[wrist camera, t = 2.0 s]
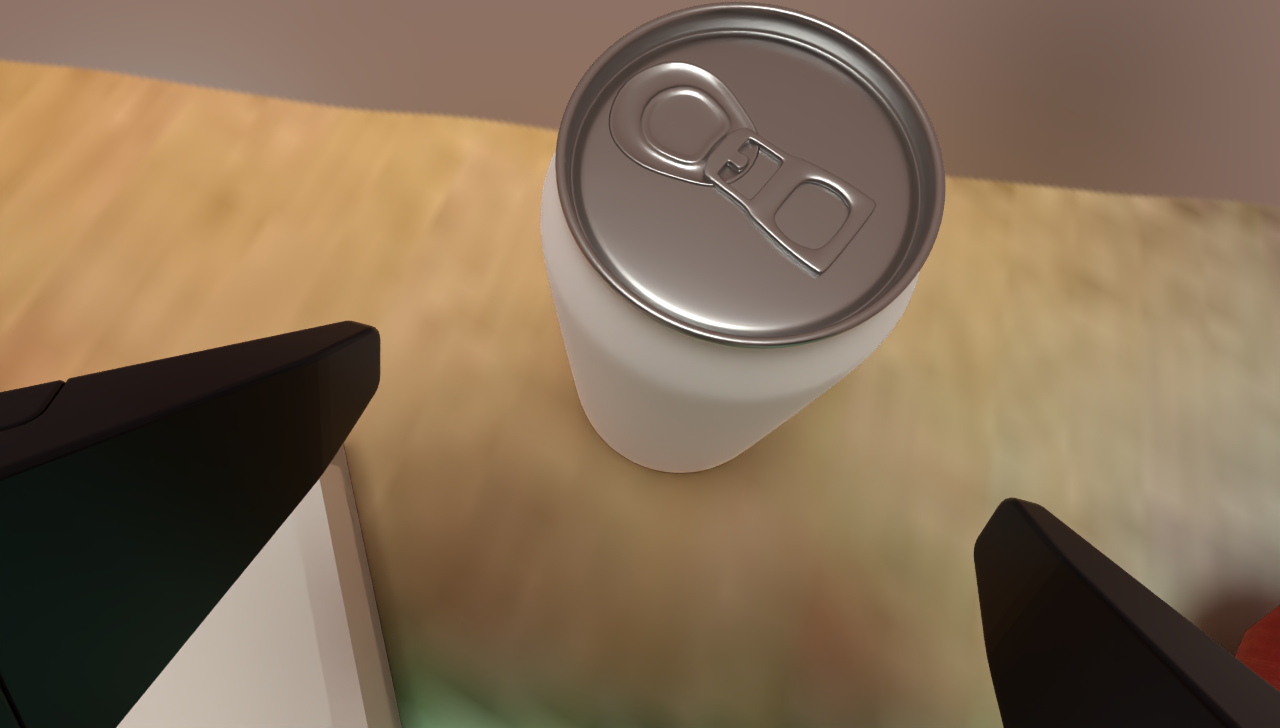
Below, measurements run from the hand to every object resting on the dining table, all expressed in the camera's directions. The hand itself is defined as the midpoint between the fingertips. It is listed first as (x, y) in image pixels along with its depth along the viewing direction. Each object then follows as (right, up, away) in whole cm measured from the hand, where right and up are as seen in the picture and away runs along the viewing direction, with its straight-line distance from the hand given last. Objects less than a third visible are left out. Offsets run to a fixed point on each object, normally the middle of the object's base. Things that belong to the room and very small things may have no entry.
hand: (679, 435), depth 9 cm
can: (+1, +1, +12) cm, 12 cm away
